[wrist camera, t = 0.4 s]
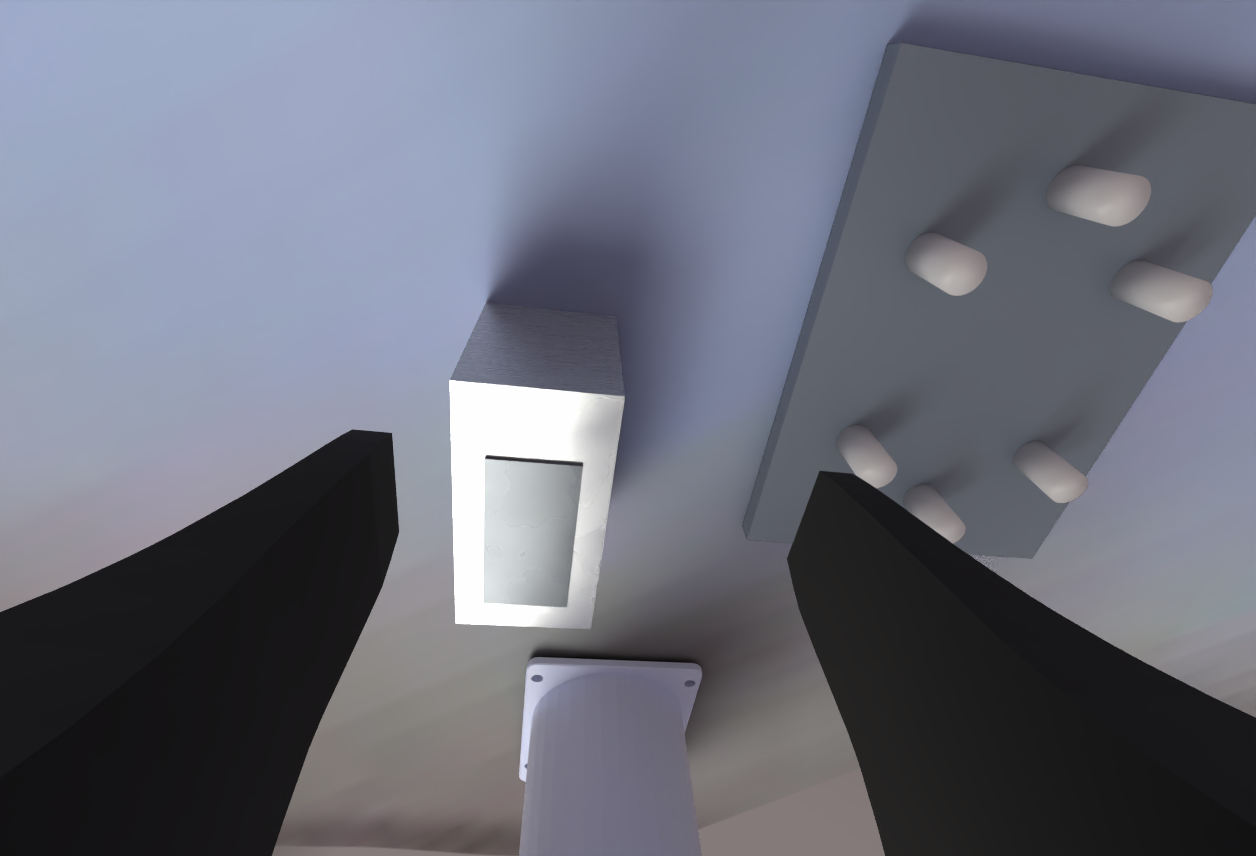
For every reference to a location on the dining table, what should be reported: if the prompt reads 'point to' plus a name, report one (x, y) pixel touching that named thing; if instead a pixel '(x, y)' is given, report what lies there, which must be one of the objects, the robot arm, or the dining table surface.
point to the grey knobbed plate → (1001, 289)
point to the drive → (533, 464)
